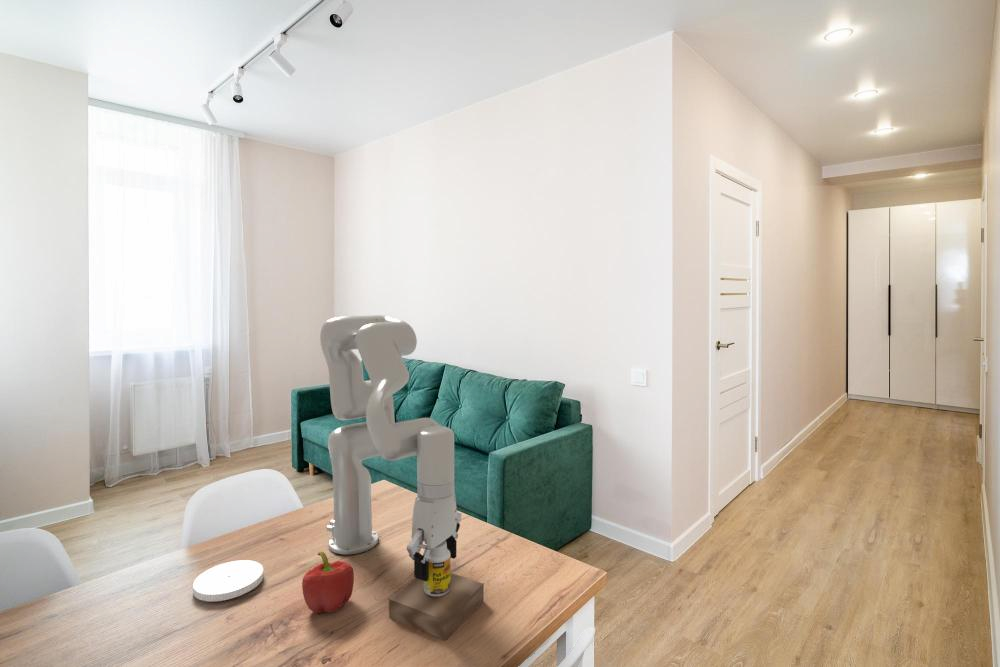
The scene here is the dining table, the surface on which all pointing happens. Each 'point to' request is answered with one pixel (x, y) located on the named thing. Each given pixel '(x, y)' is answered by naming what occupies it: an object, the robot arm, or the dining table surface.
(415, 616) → the walnut base
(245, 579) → the plastic lid
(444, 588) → the supplement bottle
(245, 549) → the dining table surface
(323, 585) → the vegetable
